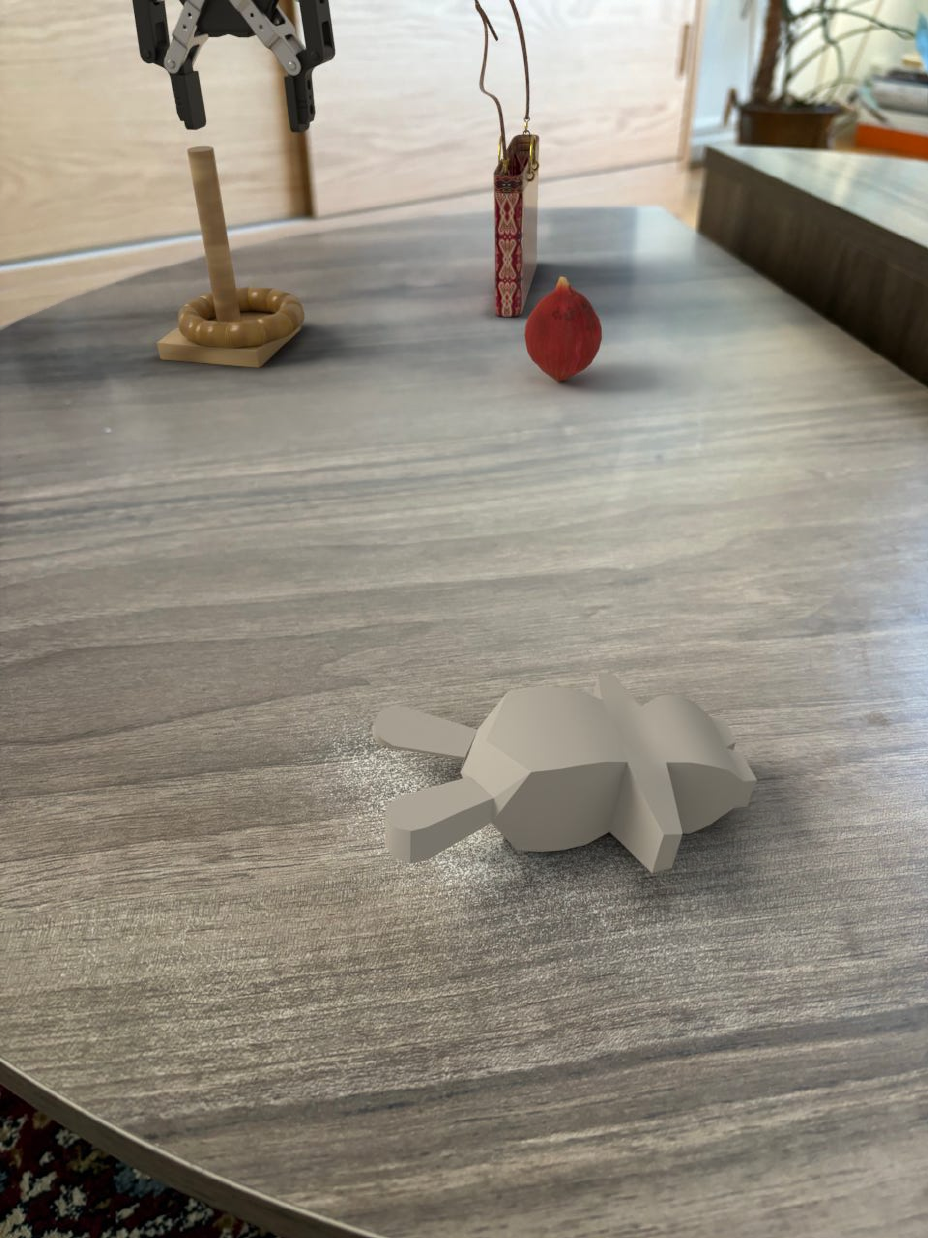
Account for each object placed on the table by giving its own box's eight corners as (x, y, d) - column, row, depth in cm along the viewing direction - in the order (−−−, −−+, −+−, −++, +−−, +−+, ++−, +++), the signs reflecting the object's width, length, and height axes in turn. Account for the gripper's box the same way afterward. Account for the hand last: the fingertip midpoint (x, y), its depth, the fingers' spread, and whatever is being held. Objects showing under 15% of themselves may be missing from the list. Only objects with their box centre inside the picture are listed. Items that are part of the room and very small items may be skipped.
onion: (613, 378, 78) (620, 275, 73) (568, 403, 74) (573, 296, 70) (554, 360, 81) (557, 260, 76) (509, 383, 78) (509, 280, 73)
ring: (157, 345, 82) (152, 321, 80) (215, 302, 90) (211, 280, 88) (274, 356, 79) (270, 331, 78) (323, 311, 87) (320, 288, 86)
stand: (160, 359, 83) (117, 159, 74) (209, 321, 90) (175, 134, 81) (259, 368, 81) (228, 164, 72) (301, 328, 88) (277, 137, 79)
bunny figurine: (797, 803, 37) (393, 823, 34) (760, 893, 40) (385, 918, 37) (709, 647, 44) (372, 653, 42) (683, 732, 47) (367, 743, 45)
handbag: (547, 250, 105) (554, -33, 90) (525, 321, 88) (530, -11, 73) (479, 249, 106) (475, -32, 91) (445, 319, 89) (433, -10, 74)
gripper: (332, -147, 66) (354, 122, 76) (141, -140, 69) (185, 117, 79) (288, -148, 60) (317, 143, 70) (81, -141, 64) (137, 137, 73)
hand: (247, 129), depth 75 cm, fingers open, 8 cm apart
